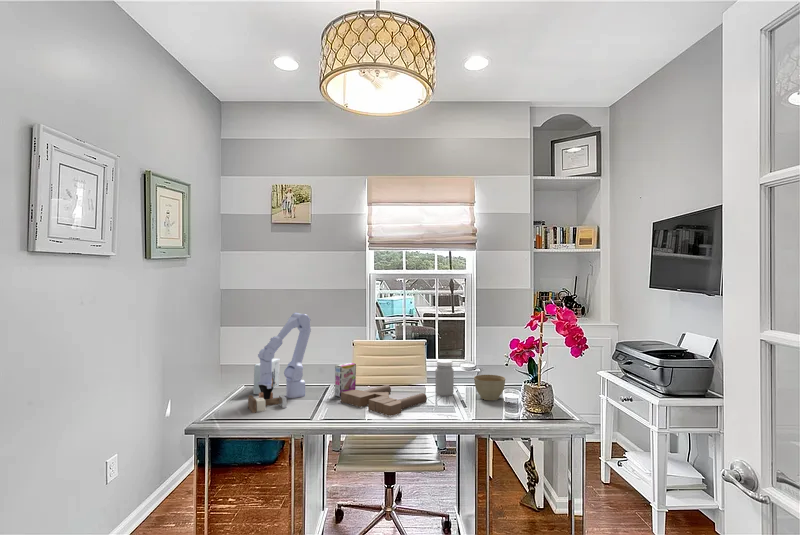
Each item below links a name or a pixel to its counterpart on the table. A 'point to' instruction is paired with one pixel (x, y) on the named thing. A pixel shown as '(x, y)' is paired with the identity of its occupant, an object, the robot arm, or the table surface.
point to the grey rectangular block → (283, 401)
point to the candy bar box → (345, 378)
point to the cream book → (260, 404)
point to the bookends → (381, 400)
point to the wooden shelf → (253, 402)
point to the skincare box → (274, 375)
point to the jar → (444, 378)
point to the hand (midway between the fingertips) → (265, 400)
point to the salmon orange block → (263, 395)
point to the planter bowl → (489, 386)
